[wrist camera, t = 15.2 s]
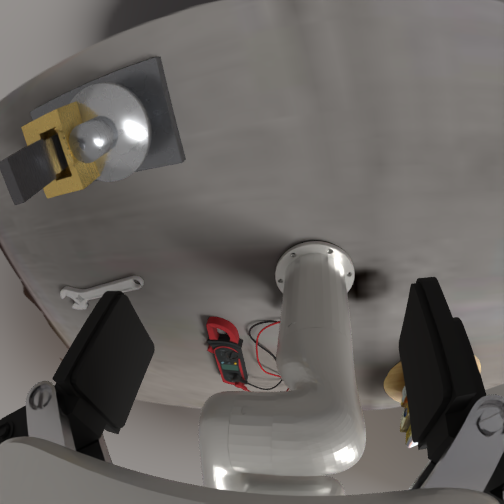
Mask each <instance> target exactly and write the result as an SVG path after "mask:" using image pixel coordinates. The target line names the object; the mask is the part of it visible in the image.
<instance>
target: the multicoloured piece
mask: <svg viewBox="0 0 504 504" xmlns="http://www.w3.org/2000/svg"><path fill="white" fill-rule="evenodd" d="M30 114H31V117H32V122H30V123H28V124H26V125H24V126H23V127H21V128H22V131H23V134H24V137H25V140H26V143H27V146H28V145H30V144H31V143H33V142H36V141H38V140H40V139H42V138H43V140H45V139H47V138H49V137H51V136H53V135H55V134H57V133H58V136H59V139H60V142H61V145H62V148H63V151H64V154H65V157H66V160H67V163H68V165H69V166H68V167H67V168H65V169H64V170H62V171H61V172H59V173H58V174H56V179H55V180H53V181H52V182H51V183H49V184H48V185H47V186H45V187H44V188H43V190H44V192H45V194H46V197H47V198H51V197H55V196H59V195H62V194H66V193H70V192H74V191H78V190H82V189H84V188H86V187H87V186H88V185H89V184H91V183H92V182H93V181H97V180H100V181H106V182H113V181H119V180H122V179H124V178H126V177H128V176H129V175H131V174H132V173H133V172H137V171H142V170H147V169H152V168H157V167H162V166H167V165H173V164H178V163H182V162H183V161H184V160H185V159H186V158H185V155H184V151H183V147H182V143H181V139H180V135H179V131H178V128H177V124H176V120H175V116H174V112H173V108H172V104H171V99H170V95H169V91H168V87H167V83H166V79H165V74H164V70H163V66H162V62H161V57H155V58H152V59H149V60H146V61H143V62H140V63H137V64H134V65H131V66H129V67H126V68H123V69H120V70H118V71H115V72H113V73H110V74H108V75H105V76H103V77H100V78H98V79H96V80H93V81H91V82H89V83H86V84H84V85H82V86H80V87H78V88H75V89H73V90H71V91H69V92H67V93H65V94H63V95H61V96H59V97H57V98H55V99H53V100H51V101H49V102H47V103H45V104H43V105H42V106H40V107H38V108H36V109H34V110H32V111H31V112H30Z"/></svg>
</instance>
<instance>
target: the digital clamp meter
mask: <svg viewBox="0 0 504 504" xmlns="http://www.w3.org/2000/svg"><path fill="white" fill-rule="evenodd" d="M268 322H275V323H272V324H270V325H268V326H266V327H265V328H263V329H262V330H261V331H260V332H259V334H258V336H257V340H256V341H255V340H254V339H253V338H252V337H251V335H250V331H251V329H252V328H253V327H254V326H256V325H259V324H262V323H268ZM277 323H280V321H278V322H277V321H264V322H260V323H257V324H255V325H253V326H252V327H251V328H250V330H249V336H250V338H251V339H252V340H253V341H254V342H255V343H256V355H257V361H258V363H259V366H260V367H261V369H262V370H263V371H264V372H265V373H267V374H270V375H274V376H277V377H281V376H279V375H275V374H271V373H268V372H266V371H265V370H264V369H263V368H262V366H261V364H260V362H259V359H258V350H257V345H258V346H260V347H261V348H262V349H264V350H265V351H267V350H266V349H265V348H263V347H262V346H261V345H259V344H258V337H259V335H260V333H261V332H262V331H263V330H264V329H266V328H267V327H269V326H272V325H274V324H277ZM206 327H207V331H208V335H209V337H208V340H207V342H208V343H209V347H208V351H209V352H211V353H214V355H215V358H216V362H217V365H218V368H219V371H220V374H221V377H222V380H223V382H225V383H228V384H232V385H235V386H236V387H238V388H242V389H243V390H245V391H246V390H247V391H249V390H248V389H247V387H245V386H244V384H249V383H247V382H248V381H247V379H248V375H247V371H246V367H245V362H244V358H243V354H242V350H241V347H242V343H243V340H242V339H240V338H239V334H238V331H237V329H236V327H235V326H234V325H233V324H232V323H231V322H229V321H227V320H225V319H223V318H220V317H209V318H208V321H207V324H206ZM217 328H219V329H221V330H223V331H225V332H226V333H227V334H228V335H226V334H219V333H218V332H217ZM267 352H268V353H269V354H271V353H270V352H269V351H267ZM271 355H272V356H273V357H274V358H275V360H276V357H275V356H274V355H273V354H271ZM281 381H282V380H281ZM281 381H280V382H279V383H278V384H277V385H276V386H278V385H279V384H280V383H281ZM249 385H251V386H254V385H252V384H249ZM276 386H275V387H276ZM254 387H256V386H254ZM275 387H272V388H270V389H273V388H275ZM256 388H259V387H256ZM259 389H263V388H259ZM270 389H263V390H270ZM288 390H289V388H288V389H287V391H288ZM249 392H251V391H249Z"/></svg>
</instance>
